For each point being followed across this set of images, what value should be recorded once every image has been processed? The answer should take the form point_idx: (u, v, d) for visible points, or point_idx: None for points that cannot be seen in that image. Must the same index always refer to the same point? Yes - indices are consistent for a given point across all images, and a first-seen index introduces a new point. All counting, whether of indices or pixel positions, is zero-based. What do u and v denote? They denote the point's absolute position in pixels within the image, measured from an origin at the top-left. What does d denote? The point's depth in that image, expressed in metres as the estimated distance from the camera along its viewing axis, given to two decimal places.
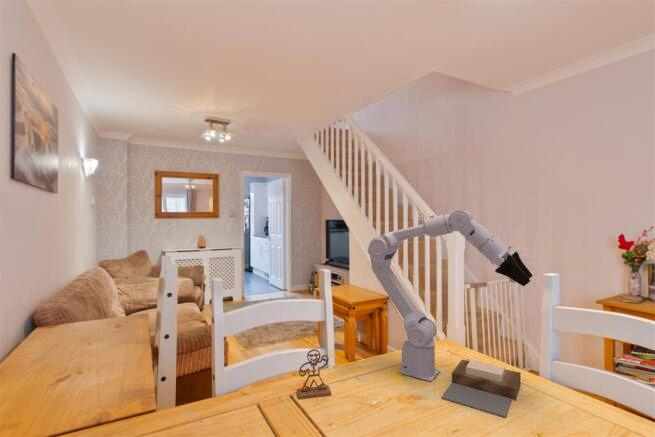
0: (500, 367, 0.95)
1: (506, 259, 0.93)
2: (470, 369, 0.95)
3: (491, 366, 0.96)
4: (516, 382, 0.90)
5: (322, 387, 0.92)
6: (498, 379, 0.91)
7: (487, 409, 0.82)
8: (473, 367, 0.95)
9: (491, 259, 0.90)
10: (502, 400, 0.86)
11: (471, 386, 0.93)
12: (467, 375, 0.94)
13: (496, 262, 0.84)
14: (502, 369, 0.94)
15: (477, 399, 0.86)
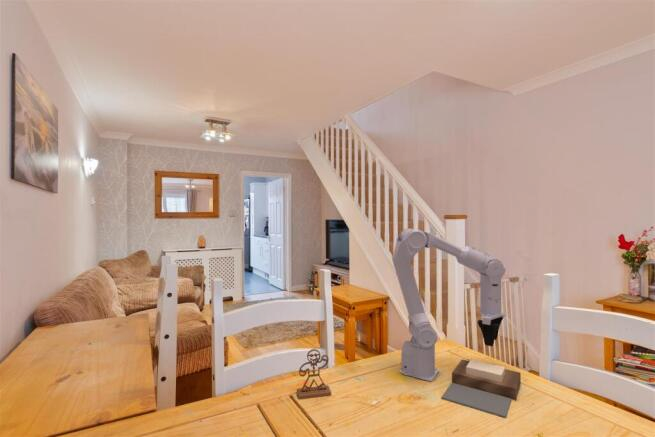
0: (500, 367, 0.95)
1: None
2: (470, 369, 0.95)
3: (491, 366, 0.96)
4: (516, 382, 0.90)
5: (322, 387, 0.92)
6: (498, 379, 0.91)
7: (487, 409, 0.82)
8: (473, 367, 0.95)
9: (482, 311, 1.01)
10: (502, 400, 0.86)
11: (471, 386, 0.93)
12: (467, 375, 0.94)
13: (484, 320, 0.96)
14: (502, 369, 0.94)
15: (477, 399, 0.86)
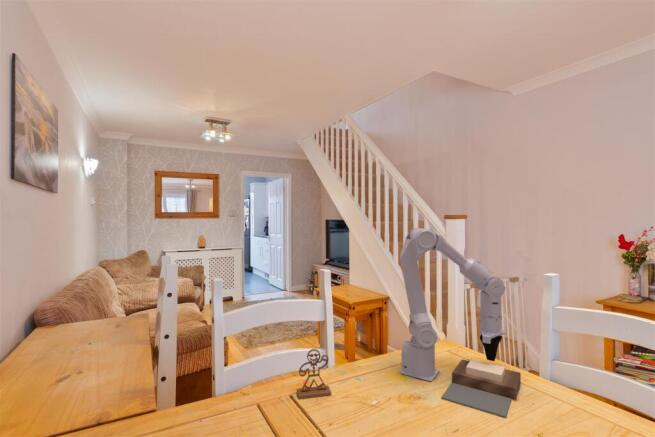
0: (500, 367, 0.95)
1: None
2: (470, 369, 0.95)
3: (491, 366, 0.96)
4: (516, 382, 0.90)
5: (322, 387, 0.92)
6: (498, 379, 0.91)
7: (487, 409, 0.82)
8: (473, 367, 0.95)
9: (482, 328, 1.01)
10: (502, 400, 0.86)
11: (471, 386, 0.93)
12: (467, 375, 0.94)
13: (484, 339, 0.96)
14: (502, 369, 0.94)
15: (477, 399, 0.86)
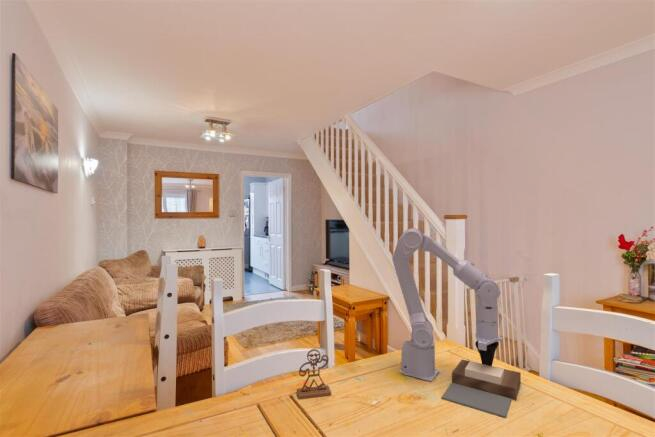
0: (499, 369, 0.94)
1: None
2: (469, 371, 0.93)
3: (490, 367, 0.94)
4: (516, 382, 0.90)
5: (322, 387, 0.92)
6: (497, 381, 0.89)
7: (487, 409, 0.82)
8: (472, 369, 0.94)
9: (478, 334, 0.97)
10: (502, 400, 0.86)
11: (471, 386, 0.93)
12: None
13: (480, 346, 0.92)
14: (501, 371, 0.92)
15: (477, 399, 0.86)
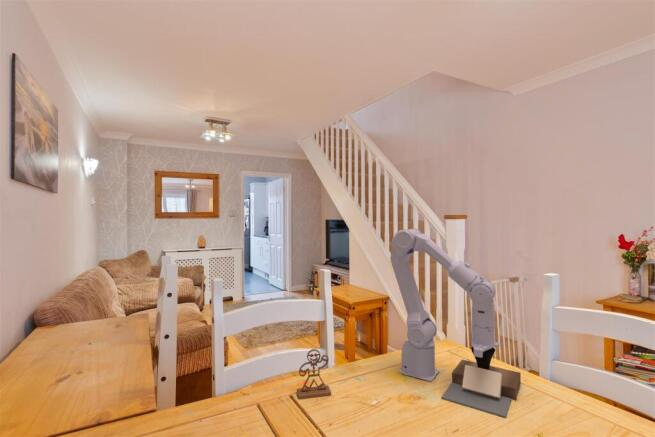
0: (496, 376, 0.88)
1: None
2: (466, 389, 0.90)
3: (487, 375, 0.90)
4: (516, 382, 0.90)
5: (322, 387, 0.92)
6: (496, 397, 0.87)
7: (487, 409, 0.82)
8: (469, 386, 0.90)
9: (474, 340, 0.92)
10: (502, 400, 0.86)
11: None
12: None
13: (475, 352, 0.87)
14: (499, 380, 0.88)
15: (477, 399, 0.86)
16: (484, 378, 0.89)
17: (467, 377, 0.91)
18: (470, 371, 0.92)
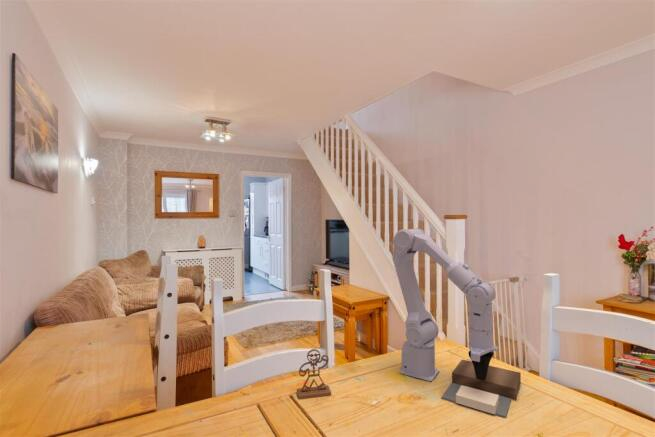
0: None
1: None
2: None
3: None
4: (516, 382, 0.90)
5: (322, 387, 0.92)
6: None
7: None
8: None
9: (471, 343, 0.90)
10: (502, 400, 0.86)
11: (471, 386, 0.93)
12: (467, 375, 0.94)
13: (472, 356, 0.85)
14: None
15: None
16: None
17: None
18: None
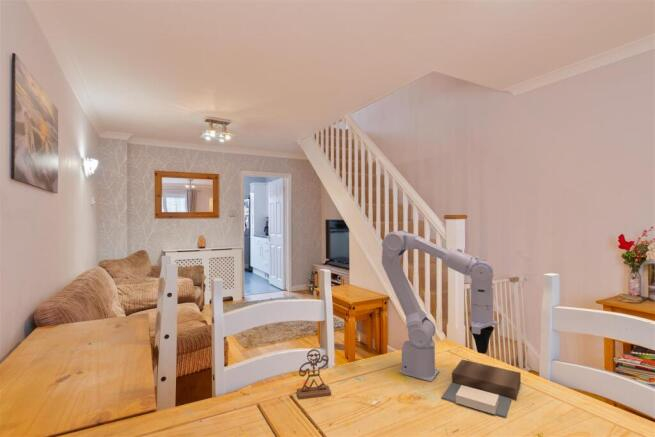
0: None
1: None
2: None
3: None
4: (516, 382, 0.90)
5: (322, 387, 0.92)
6: None
7: None
8: None
9: (472, 318, 0.94)
10: (502, 400, 0.86)
11: (471, 386, 0.93)
12: (467, 375, 0.94)
13: (473, 329, 0.89)
14: None
15: None
16: None
17: None
18: None
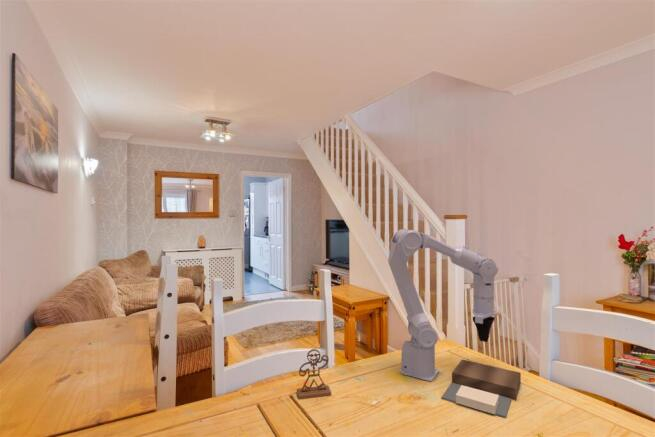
0: None
1: None
2: None
3: None
4: (516, 382, 0.90)
5: (322, 387, 0.92)
6: None
7: None
8: None
9: (475, 310, 1.03)
10: (502, 400, 0.86)
11: (471, 386, 0.93)
12: (467, 375, 0.94)
13: (476, 319, 0.98)
14: None
15: None
16: None
17: None
18: None
